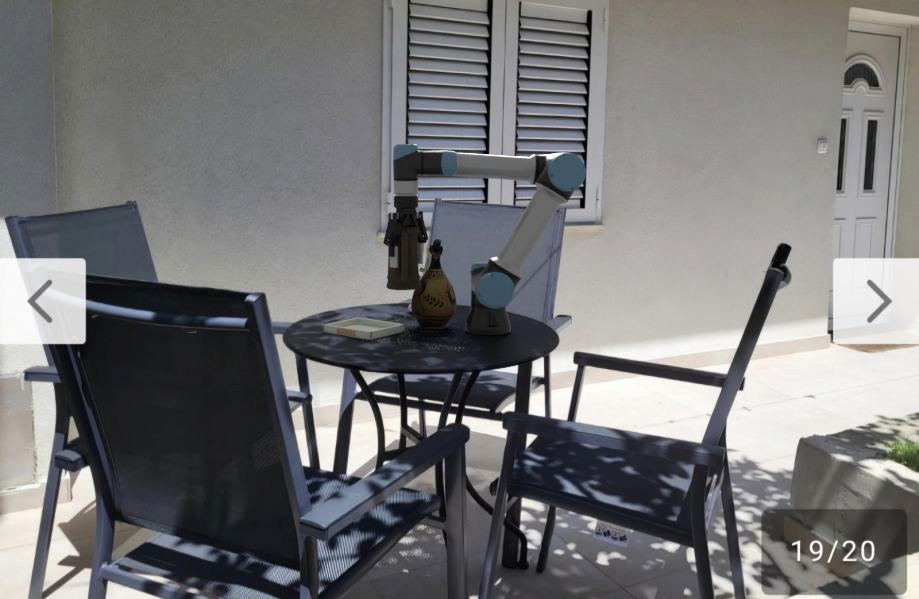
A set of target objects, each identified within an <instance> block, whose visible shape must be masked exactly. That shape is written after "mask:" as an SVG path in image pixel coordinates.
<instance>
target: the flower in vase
mask: <svg viewBox="0 0 919 599" xmlns="http://www.w3.org/2000/svg"><path fill="white" fill-rule="evenodd" d="M429 247H430V245H426V247H425V250H426V255H427V256H428V257H427V258H426V262H425V265H424V268H423V267H422V266H420V268H419V272H420V273H422V274H419V276H420V280H421V278H422V277H423V275H424V274H425V272H426V271H427V270H428V269H429V266H430V265H427V262H429V261H431V257H432V254H430V252H429ZM407 309H408V311H409V312H412V309H411V303H409V305H408V307H407Z"/></svg>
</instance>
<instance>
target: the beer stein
mask: <svg viewBox="0 0 919 599" xmlns="http://www.w3.org/2000/svg"><path fill="white" fill-rule="evenodd" d="M418 233H419V227H418V226H417V227H409V226H408V225H407V226H405V227H404V228H403V229H402V232H401V234H400V236H399V239H398V241H397V244H396V246H398V268H393V267H390V257H389V247H388V246H387V250H388V251H387V252H388V253H387V254H388V256H387V257H388V258H387V277H386V279H387V283H386V288H387V289H388V290H392V291H414V290H415V289H419V288H421V285H420V276H419V275H420V273H419V272H420V271H419V270H420V268H419V264H418V254H417V247H418V246H417V237H418ZM388 241H389V240H388Z"/></svg>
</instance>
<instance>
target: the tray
mask: <svg viewBox="0 0 919 599" xmlns="http://www.w3.org/2000/svg"><path fill="white" fill-rule="evenodd" d="M322 332H323V333H326V334H331V335H332V334H333V335H339V336H344V337H349V338H350V337H351V338H357V339H362V340H369V341H372V340H376V339H380V338H384V337H388V336H392V335H396V334H401V333H405V332H406V324H405V323H400V322H392V321H385V320H379V319H371V318H366V317H359V316H358V317H354V318H348V319H344V320H338V321H333V322H329V323H325V324H324V323H323V324H322Z"/></svg>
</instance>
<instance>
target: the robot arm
mask: <svg viewBox="0 0 919 599" xmlns="http://www.w3.org/2000/svg"><path fill="white" fill-rule="evenodd" d="M392 153H393V154H392V155H393V157H392V163H393V164H392V168H393V169H392V170H393V171H392V172H393V194H394V197H393V207H394V208H395V210H396V211H395V212H389V213H388V221H387V227H386V229H385V234H384V238H383V245H385V246H386V247H387V248H388V247H389V257H390V267H393V268H398V246H396V244H397V241H398V239H399V236H400V234H401V232H402V229H403V228H404V227H405V226H407V225H408V226H409V227H417V226H418V227H419V233H418V237H417V246H418V247H417V254H418V265H424V251H425V250H424V246H425V245H424V244H426V243H427V241H429V236H428V232H427V228H426V224H425V220H424V212H423V210H417V208H419V196H418V194H419V179H418V178H419V176H433V177H434V176H436V177H437V176H441V177H442V176H444V177H463V178H478V179H493V180H494V179H495V180H508V181H523V182H524V181H525V182H528V183H529V184H530V185H535V187H536V191H535V192H534V194H533V195H532V197H531V199H530V201H529V202H528V204H527V205H526V208H525V209H524V210H523V213H522V214H521V215H520V217H519V220H518V221H517V222H516V223H515V226H514V228H513V229H512V231H511V232H510V234H509V236H508V237H507V239H506V241H505V242H504V244H503V246H502V247H501V249H500V251H499V253H497V256H494V257H489V259H488V261H487V262H474V263H472V264H471V267H470V268H471V269H470V272H469V273H470V309H469V312H468V315H467V318H466V322H465V325H464V326H465V332H466V333H468V334H473V335H479V336H499V335H505V334H510V333H511V330H512V328H511V327H512V326H511V322H510V318H509V314H508V311H507V305H509V304H510V303H511V301H512V300H513V298H514V296H515V289H516V288H517V286H518V284H519V283H520V281H521V280H522V273H521V271H522V268H524V265H525V264H526V262H527V260H528V258H529V257H530V255H531V254H532V251H534V248H535V247H536V246H537V243H538V242H539V241H540V238H542V235H543V234H544V233H545V230H546V229H547V227H548V225H549V223H550V222H551V221H552V219H553V218H554V215H555V214H556V212H557V211H558V210H559V207H560V206H561V205H564V204H566V203H568V202H569V200H570V198H571V197H572V195H573V194H574V192H575V191H576V190H577V189H579V188H580V186H581V185H582V184H583V183H584V181H585V180H586V179H585V178H586V175H587V168H586V165H585V162H584V161H583V160H582V158H580V157H579V155H576V154H575V153H572V152H569V151H561V152H555V153H550V154H548V153H547V154H532V155H530V156H529V157H528V156H514V155H511V156H510V155H501V154H499V155H496V154H481V153H470V152H469V153H466V152H465V153H464V152H456V151H454V150H419V146H418V145H417V144H416V143H399V144H398V143H397V144H395V145H394V146H393V152H392ZM388 240H389V241H388Z"/></svg>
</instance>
